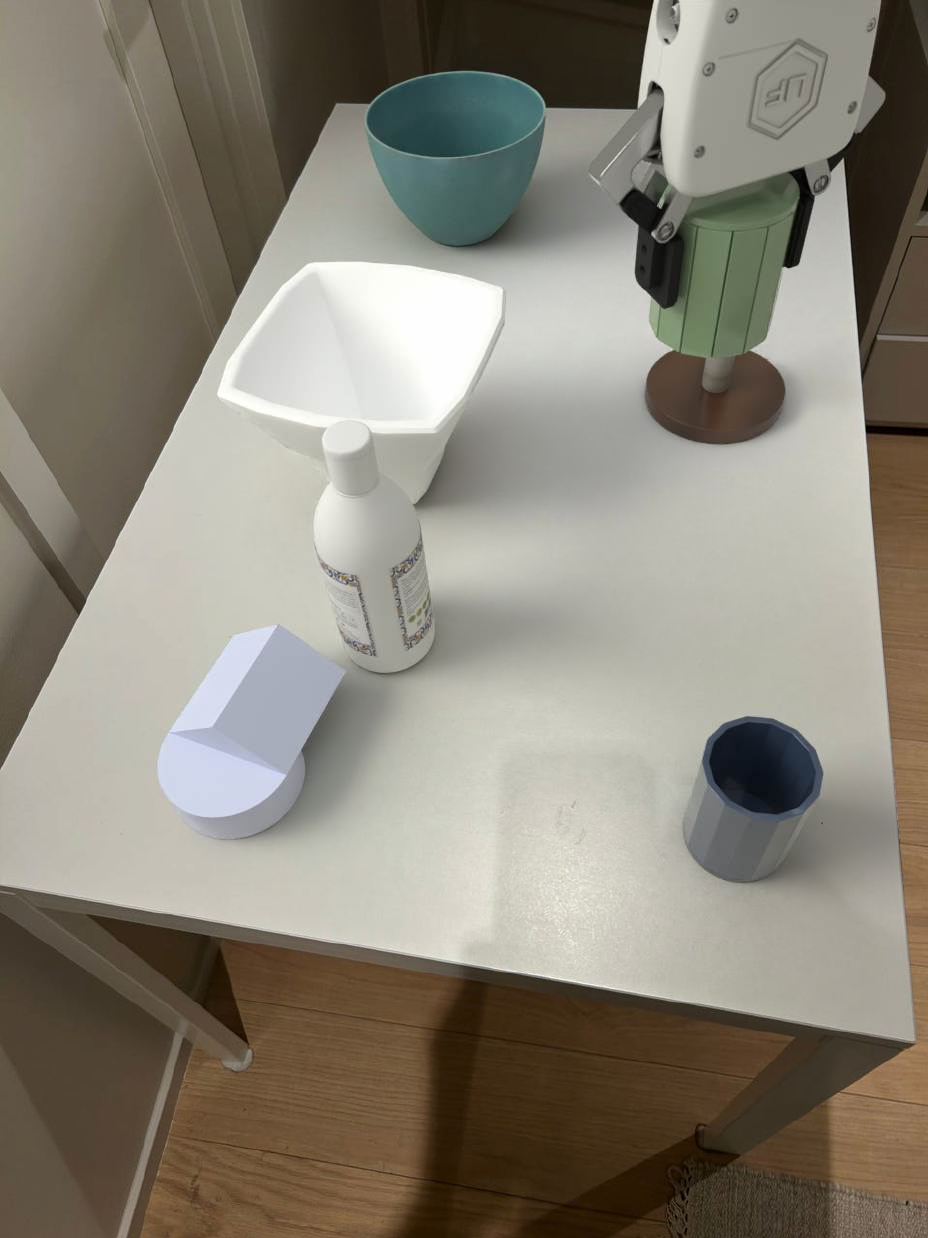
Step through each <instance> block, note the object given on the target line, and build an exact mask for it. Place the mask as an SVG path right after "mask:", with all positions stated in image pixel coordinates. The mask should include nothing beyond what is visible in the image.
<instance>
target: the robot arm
mask: <svg viewBox="0 0 928 1238" xmlns="http://www.w3.org/2000/svg"><path fill="white" fill-rule="evenodd" d="M881 5H882V0H653V3H652V8H651V13H650V17H649V24H648V29H647V34H646V41H645V46H644V53H643V59H642V60H643V62H642V66H641V75H640V82H639V90H638V100H637V108H636V111H634V113H633V114H632V115H631V116H630V117H629V119H627V120H626V122H625V123H624V124H623V126H621V128H620V129H619V130H618V131H617V132H616V134H615V135H614V136H613V137H612V138H611V139H610V141H609V142H608V143H607V144H606V145H605V146H604V148H603V149H602V150H601V151H600V152H599V154H598V155H596V157H595V158H594V159H593V161H592V162H591V163H590V165H589V167H588V170H587V171H588V176H589V177H590V179H591V180H592V181H593V182H594V183H595V184H596V185H597V186H598V187H599V189H600V190H602V192H603V193H604V194H605V195H606V196H607V197H608V198H609V199H610V200H611V202H612V203H613V204H614V205H615V206H616V207H617V208H618V209H619V210H621V212H623V213H624V214H625V215H626V216H627V217H628V218H629V219H630V220H632V222H633V223H635V224H636V225H637V226H638V227H637V237H636V238H637V239H636V249H635V261H634V277H635V280H636V284H638V286H639V287H640V288H641V289H642V290H644V291H645V292H646V293H647V295H649V296H650V298H651V297H652V298H653V299H654V300H655V301H656V302H657V303H658V304H659V305H660V306H661V307H662V308H663V309H666V308H669V307H673V306H674V305H675V303H676V302H677V298H678V290H679V283H680V275H681V267H682V260H683V252H684V240H683V239H682V237H681V236H679V235H678V234H677V233H676V231H677V229H678V228H679V226H680V224H681V222H682V220H683V218H684V216H685V215H686V213H687V211H688V209H689V207H690V205H691V203H692V201H693V200H694V198H695V197H704V196H708V195H712V194H716V193H719V192H723V191H727V190H730V189H733V188H737V187H740V186H743V185H747V184H750V183H754V182H757V181H760V180H763V179H767V178H770V177H773V176H777V175H780V174H783V173H786V172H788V173H790V174H791V175H792V176H793V177H794V179H795V180H796V181H797V183H798V186H799V192H800V194H799V197H800V199H799V203H798V207H797V212H796V216H795V221H794V225H793V230H792V234H791V238H790V243H789V247H788V252H787V256H786V261H785V265H784V268H786V269H792V268H795V267H798V266H799V265H800V264H801V263H800V262H801V258H802V254H803V250H804V246H805V242H806V239H807V234H808V229H809V225H810V221H811V217H812V213H813V208H814V205H815V199H816V197H817V196H820V195H822V194H823V193H824V192H826V191H827V190H828V188H829V187H830V185H831V182H832V175H831V173H832V172H833V171H834V170H835V168H836V167H837V166H838V165H839V164H840V163H841V161H842V160H843V159H844V158H845V157H846V156H847V155H848V154H849V153H850V152H851V150H852V149H853V148H854V146H855V144H856V141H857V134H858V133H861V132H862V131H863V130H864V129H865V128H866V126H867V125H868V124H869V122H870V121H871V120H872V119H873V117H874V116H875V115H876V113H877V112H878V111H879V110H880V109H881V107H882V106H883V104H884V103H885V100H886V92H885V90H884V89H883V88H882V87H881V86H880V85H879V84H878V83H877V82H876V80H874V79H873V78H872V77H871V75H869V72H870V68H871V63H872V58H873V51H874V47H875V42H876V36H877V30H878V24H879V18H880V13H881V11H880V10H881ZM641 161H643V162H647V163H650V165H649V167H648V169H647V171H646V173H645V174H644V177H643V179H642V181H641V182H640V185H639V187H638V186H637V185H636V184H635V182H634V181H633V176H632V175H633V172H634V170H635V168H636V167H637V166H638V165H639V164H640V163H641ZM668 183H669V184H670V185H672V188H671V190H670V192H669V194H668V196H667V197H666V199H665V201H664V203H663V205H662V207H661V209H660V206H658V205H659V203H660V202H661V197H662V195H663V193H664V191H665V189H666V187H667V185H668Z"/></svg>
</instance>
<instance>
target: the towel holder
mask: <svg viewBox="0 0 928 1238" xmlns="http://www.w3.org/2000/svg"><path fill="white" fill-rule="evenodd" d="M785 398H786V384H785V381H784V378H783V376H782V374H781V372H780V371H779V370H778V368H776V366H775V365H774V364H773V363H772V362H770V361H769V360H768V359H766V358H765V357H764V356H762V355H761V354H759V353H757V352H754V351H753V350H749V351H748V352H746V353H745V354H744V353H742V355H735V356H728V357H721V358H715V359H713V358H712V356H711V358H710V359H709V358H704V357H698V356H693V355H687V354H682V353H681V351H680V352H677V351H675V350H674V349H672V350H670V351H668V352H667V353H665V354H663V355H662V356H661V357H659V358H658V359H657V360H656V361H655V362H654V363H653V365H652V366H651V367H650V369H649V371H648V373H647V377H646V381H645V391H644V401H645V404H646V408H647V410H648V412H649V413H650V415H651V417H652V418H653V419H654V420H655V421H656V422H657V423H658V424H659V425H660V426H661V427H663V428H664V429H666V430H667V431H669V432H670V433H672V434H674V435H675V436H679V437H681V438H684V439H686V440H690V441H693V442H697V443H704V444H713V445H714V444H715V445H723V444H724V445H726V444H727V445H728V444H736V443H739V442H744V441H747V440H750V439H753V438H755V437H758V436H760V435H762V434H763V433H765V432H766V431H768V430H769V429H770V428H771V427H772V426H773V425H774V424H775V423H776V422H777V420H778V419H779V417H780V415H781V412H782V409H783V406H784V402H785Z"/></svg>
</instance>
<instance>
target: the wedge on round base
mask: <svg viewBox="0 0 928 1238" xmlns="http://www.w3.org/2000/svg"><path fill="white" fill-rule="evenodd" d="M346 672H347V670H346V669H345V668H344V667H342V666H340V665H339V664H337V663H336V662H334V661H333V660H331V659H330V658H329V657H327V656H326V655H324V654H322V653H321V652H320V651H318V649H315V648H314V647H313V646H312V645H310V644H308V642H305V641H304V640H303V639H301V638H300V637H298V636H297V635H295V634H294V633H292V631H290V630H288V629H287V628H285V627H283V626H282V625H281V624H280V623H277V624H272V625H269V626H264V627H260V628H256V629H252V630H249V631H244V632H240V633H236V634H234V635H232V637H231V639H230V640H229V642H228V643H227V645H225V647H224V649H223V651H222V652H221V654H220V655H219V657H217V659H216V661H215V662H214V664H213V665H212V667H211V668H210V670H209V671H208V672H207V674H206V676H205V677H204V679H203V681H202V682H201V683H200V685H199V686H198V688H197V689H196V691H195V692H194V694H193V695H192V696H191V698H190V700H189V701H188V703H187V705H185V707H184V709H183V710H182V712H181V713H180V714H179V716H178V717H177V719H176V721H174V724H173V725H172V727H171V728H170V729H169V731H168V733H167V734H166V736H165V738H164V739H163V742H162V744H161V746H160V749H159V751H158V752H159V753H158V757H157V764H156V772H157V778H158V779H157V780H158V782H159V783H158V784H159V785H160V788H161V790H162V791H163V793H164V795H165V796H166V798H167V799H168V800H169V803H171V805H172V806H173V808H174V809H175V810H176V812H177V814H178V815H179V816H180V818H181V819H182V820H183V822H184V823H185V824H186V825H187V826H188V827H190V828H191V829H192V830H193V831H195V832H197V833H198V834H200V835H203V836H206V837H208V838H211V839H218V840H225V841H226V840H227V841H228V840H239V839H244V838H248V837H251V836H255V835H257V834H259V833H262V832H265V830H267V829H269V828H270V827H272V826H274V825H275V824H276V823H279V821H280V820H281V819H282V818H284V816H286V815H287V814H288V812H289V811H290V810H291V809H292V808H293V806H294V805H295V803H296V801H297V800H298V799H299V796H300V794H301V792H302V789H303V786H304V783H305V777H306V762H305V761H306V760H305V757H304V753H303V750H302V749H303V748H304V746H305V744H306V742H307V740H308V738H309V737H310V736H311V733H312V731H313V729H314V728H315V726H316V725H317V723H318V722H319V719H320V717H321V716H322V714H323V712H324V711H325V709H326V708H327V705H328V703H329V702H330V701H331V698H332V697H333V695H334V693H335V691H336V689H337V688H338V687H339V684H340V682H341V681H342V679H343V677H344V675H345V674H346Z"/></svg>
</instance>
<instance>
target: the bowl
mask: <svg viewBox="0 0 928 1238" xmlns="http://www.w3.org/2000/svg"><path fill="white" fill-rule="evenodd" d="M506 302H507V290H506V289H504V288H503V287H501V286H499V285H495V284H493V283H489V282H485V281H482V280H479V279H475V278H473V277H469V276H466V275H462V274H457V273H451V272H446V271H440V270H435V269H430V268H424V267H419V266H414V265H407V264H397V263H395V264H394V263H393V264H392V263H381V262H379V263H378V262H366V261H321V262H320V261H317V262H315V261H313V262H309V263H307V264H306V265H305V266H303V268H301V269H300V270H299V271H297V272H296V274H294V275H293V276H292V277H291V278H289V279H288V280H287V281H286V282H285V283H283V284H282V285H281V286H280V287H279V289H278V290H277V292H276V293H275V294H274V296H273V297H272V298H271V299H270V301H269V303H267V305H266V306H265V307H264V309H263V311H262V312H261V313H260V315H259V316H258V317H257V319H256V320H255V321H254V323H253V324H252V326H251V327H250V328H249V330H248V331H247V333H246V334H245V336H244V337H243V339H242V340H241V342H240V343H239V344H238V346H237V347H236V348H235V350H234V352H233V353H232V355H231V356H230V358H229V359H228V360H227V362H226V366H225V369H224V372H223V374H222V376H221V377H222V378H221V381H220V385H219V386H218V390H217V397H218V400H219V401H220V402H221V403H223V404H224V405H226V406H227V407H229V408H230V409H232V410H233V411H234V412H235V413H237V414H239V415H240V416H242V417H243V418H244V419H246V421H249V422H250V423H251V424H253V425H254V426H255V427H257V428H258V429H259V430H261V431H262V432H264V433H265V434H267V435H268V436H270V438H272V439H274V440H275V441H277V442H278V443H280V444H281V445H282V446H284V447H285V448H287V449H289V450H292V451H294V452H297V453H299V454H302V455H304V456H306V457H308V458H309V459H310V460H311V462H312V464H313V465H314V466H315V467H316V468H317V470H318V471H319V472H320V474H321V475H322V476H323V478H324V479H325V480H326V482H327V483H328V484H329V483H330V481H331V478H330V474H329V470H328V466H327V462H326V458H325V454H324V450H323V445H322V437H323V434H324V432H325V431H326V430H327V428H329V427H330V426H331V425H333V424H335V423H337V422H340V421H344V420H355V421H359V422H362V423H364V424H365V425H367V426H368V428H369V429H370V431H371V433H372V438H373V443H374V448H375V454H376V459H377V465H378V471H379V472H381V473H382V474H384V475H385V476H387V477H388V478H390V479H391V480H393V481H394V482H395V483H396V484H397V485H399V486H400V487H401V489H402V490H403V491H404V492H405V493H406V494H407V496H408V497H409V499H410V500H411V502H412V504H413V505H416V504H417V503H418V502H419V501H420V500H421V498H422V497H423V496H424V495H425V493H427V491H428V489H429V487H430V485H431V483H432V481H433V479H434V477H435V476H436V475H435V474H436V473H437V470H438V468H439V467H440V464H441V461H442V459H443V457H444V455H445V451H446V450H445V449H446V446H447V442H448V441H449V439H450V437H451V435H452V433H453V432H454V430H455V428H456V426H457V424H458V423H459V421H460V419H461V417H462V415H463V413H464V412H465V410H466V408H467V407H468V405H469V403H470V400H471V397H473V394H474V392H475V390H476V388H477V386H478V384H479V381H480V379H481V377H482V375H483V373H484V371H485V369H486V368H487V365H488V363H489V361H490V358H491V356H492V354H493V352H494V349H495V347H496V345H497V343H498V340H499V337H500V335H501V333H502V331H503V329H504V326H505V323H506V321H505V320H506V305H507V303H506Z"/></svg>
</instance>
